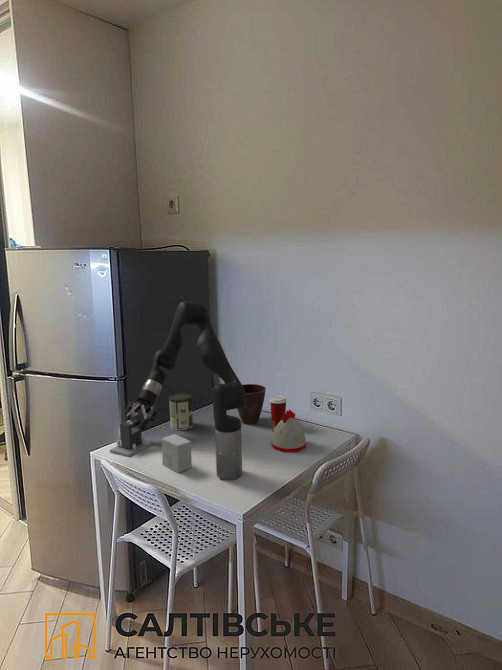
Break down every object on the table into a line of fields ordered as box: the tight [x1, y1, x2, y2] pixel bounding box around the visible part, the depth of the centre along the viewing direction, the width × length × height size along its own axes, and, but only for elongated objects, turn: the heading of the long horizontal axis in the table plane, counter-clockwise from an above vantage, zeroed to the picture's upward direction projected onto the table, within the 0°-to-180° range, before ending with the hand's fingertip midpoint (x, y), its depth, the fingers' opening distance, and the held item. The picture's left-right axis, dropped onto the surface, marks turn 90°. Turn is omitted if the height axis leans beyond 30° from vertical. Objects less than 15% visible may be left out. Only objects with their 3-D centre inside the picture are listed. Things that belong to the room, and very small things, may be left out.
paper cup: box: [269, 395, 288, 429], centre depth 208 cm, size 8×8×14 cm
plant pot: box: [236, 383, 267, 425], centre depth 216 cm, size 15×15×16 cm
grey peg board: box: [109, 437, 153, 458], centre depth 190 cm, size 14×10×4 cm
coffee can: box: [168, 392, 194, 431], centre depth 212 cm, size 10×10×14 cm
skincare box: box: [161, 433, 193, 474], centre depth 173 cm, size 10×6×10 cm, turn 44°
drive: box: [119, 418, 143, 450], centre depth 190 cm, size 7×5×10 cm
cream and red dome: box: [271, 409, 307, 453], centre depth 189 cm, size 14×14×15 cm
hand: (133, 427), depth 191 cm, fingers open, 8 cm apart
